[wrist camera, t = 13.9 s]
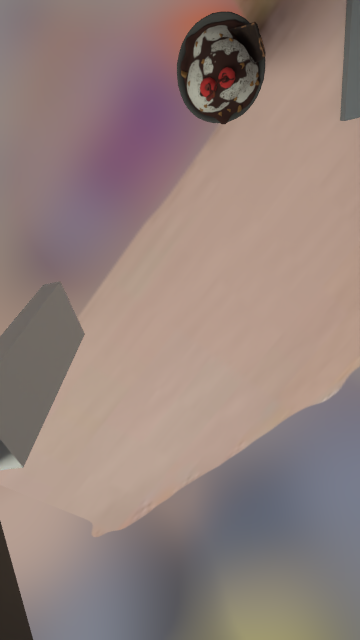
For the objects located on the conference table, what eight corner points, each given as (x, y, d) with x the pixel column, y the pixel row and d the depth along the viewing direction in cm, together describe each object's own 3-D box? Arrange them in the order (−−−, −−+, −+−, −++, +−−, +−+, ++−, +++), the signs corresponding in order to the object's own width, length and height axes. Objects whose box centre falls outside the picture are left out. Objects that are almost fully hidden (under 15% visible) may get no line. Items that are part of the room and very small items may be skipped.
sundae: (181, 124, 34) (178, 129, 22) (177, 42, 31) (171, -6, 18) (242, 119, 34) (275, 123, 22) (245, 37, 31) (287, -17, 18)
